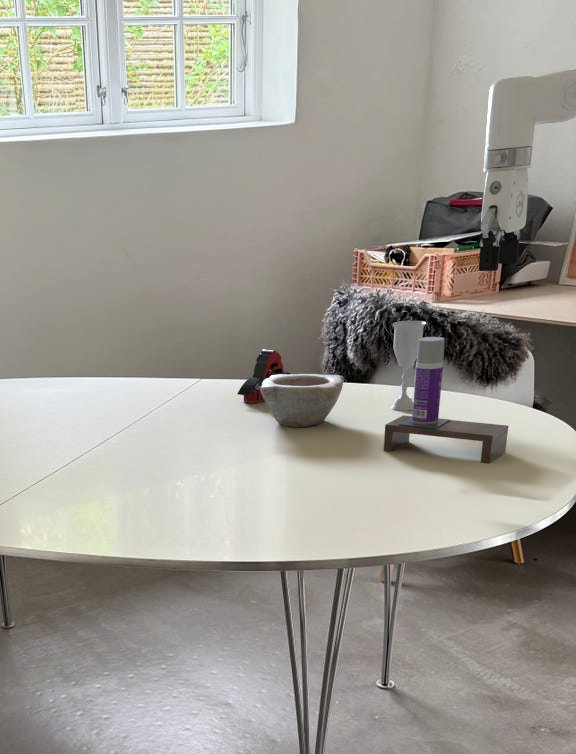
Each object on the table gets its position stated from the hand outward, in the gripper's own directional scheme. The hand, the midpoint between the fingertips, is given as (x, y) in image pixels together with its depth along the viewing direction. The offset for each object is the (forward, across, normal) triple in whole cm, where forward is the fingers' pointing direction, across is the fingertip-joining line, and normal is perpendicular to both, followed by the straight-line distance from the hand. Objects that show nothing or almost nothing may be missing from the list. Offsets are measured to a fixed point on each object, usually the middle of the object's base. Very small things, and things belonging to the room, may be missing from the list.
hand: (497, 267), depth 170 cm
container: (+26, -12, +7) cm, 29 cm away
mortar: (+31, -2, +38) cm, 49 cm away
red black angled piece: (+31, +16, +57) cm, 67 cm away
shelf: (+31, -12, +3) cm, 33 cm away
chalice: (+31, +18, +24) cm, 43 cm away
